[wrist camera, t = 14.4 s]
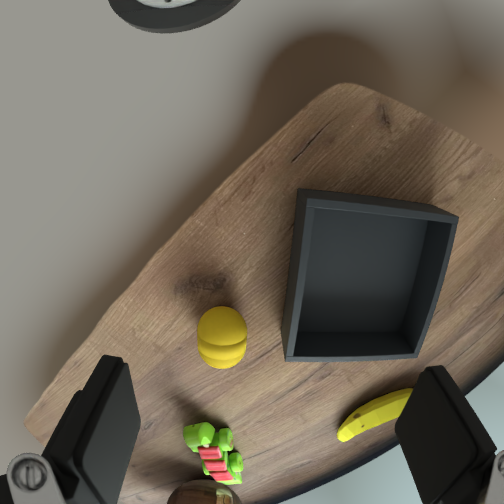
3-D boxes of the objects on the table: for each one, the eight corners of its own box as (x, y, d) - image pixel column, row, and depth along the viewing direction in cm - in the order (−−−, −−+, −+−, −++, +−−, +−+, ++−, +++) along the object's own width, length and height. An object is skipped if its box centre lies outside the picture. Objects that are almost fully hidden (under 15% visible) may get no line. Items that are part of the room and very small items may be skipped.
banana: (326, 443, 41) (364, 461, 47) (429, 389, 36) (447, 417, 42) (321, 420, 45) (358, 442, 51) (418, 366, 40) (438, 398, 46)
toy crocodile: (248, 470, 50) (248, 496, 44) (214, 472, 50) (212, 497, 44) (222, 407, 43) (219, 438, 38) (180, 410, 44) (174, 440, 38)
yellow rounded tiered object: (194, 298, 36) (199, 324, 31) (242, 296, 38) (254, 321, 32) (196, 350, 39) (200, 380, 34) (239, 347, 40) (249, 376, 35)
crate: (297, 188, 33) (306, 197, 27) (432, 204, 33) (459, 216, 28) (280, 332, 39) (284, 361, 33) (400, 333, 39) (417, 358, 34)
